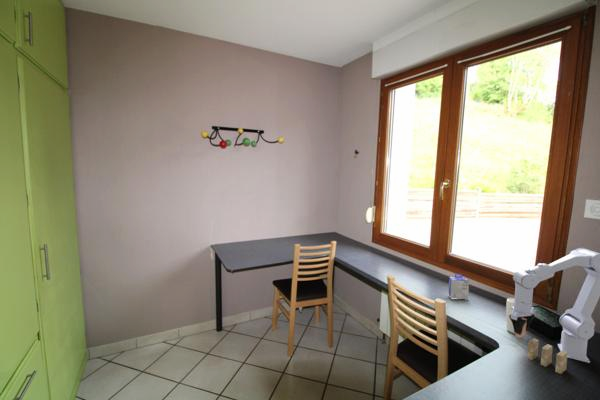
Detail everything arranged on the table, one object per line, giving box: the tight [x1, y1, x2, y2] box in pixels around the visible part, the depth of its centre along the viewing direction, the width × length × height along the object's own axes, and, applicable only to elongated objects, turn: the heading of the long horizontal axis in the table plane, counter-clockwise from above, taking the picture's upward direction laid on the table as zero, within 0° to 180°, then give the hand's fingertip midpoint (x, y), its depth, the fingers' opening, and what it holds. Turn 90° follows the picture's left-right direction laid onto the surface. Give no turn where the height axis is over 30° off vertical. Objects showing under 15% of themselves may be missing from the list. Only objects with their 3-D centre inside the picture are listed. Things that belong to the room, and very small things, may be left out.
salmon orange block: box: [515, 317, 527, 339], centre depth 119 cm, size 2×5×7 cm, turn 119°
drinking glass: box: [505, 297, 516, 335], centre depth 134 cm, size 7×7×15 cm
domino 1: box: [526, 338, 540, 361], centre depth 116 cm, size 2×5×7 cm, turn 119°
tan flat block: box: [540, 343, 553, 368], centre depth 112 cm, size 2×5×7 cm, turn 119°
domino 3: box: [554, 350, 568, 375], centre depth 108 cm, size 2×5×7 cm, turn 119°
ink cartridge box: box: [448, 273, 470, 301], centre depth 169 cm, size 10×6×14 cm, turn 78°
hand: (520, 331), depth 119 cm, fingers closed on salmon orange block, 5 cm apart
